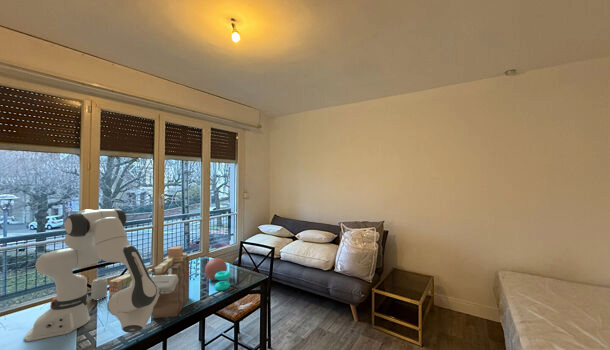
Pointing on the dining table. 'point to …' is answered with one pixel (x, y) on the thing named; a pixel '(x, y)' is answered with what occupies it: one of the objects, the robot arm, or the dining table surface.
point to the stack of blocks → (119, 284)
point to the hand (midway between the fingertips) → (160, 269)
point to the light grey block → (99, 288)
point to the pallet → (169, 263)
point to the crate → (175, 251)
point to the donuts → (222, 284)
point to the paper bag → (176, 299)
